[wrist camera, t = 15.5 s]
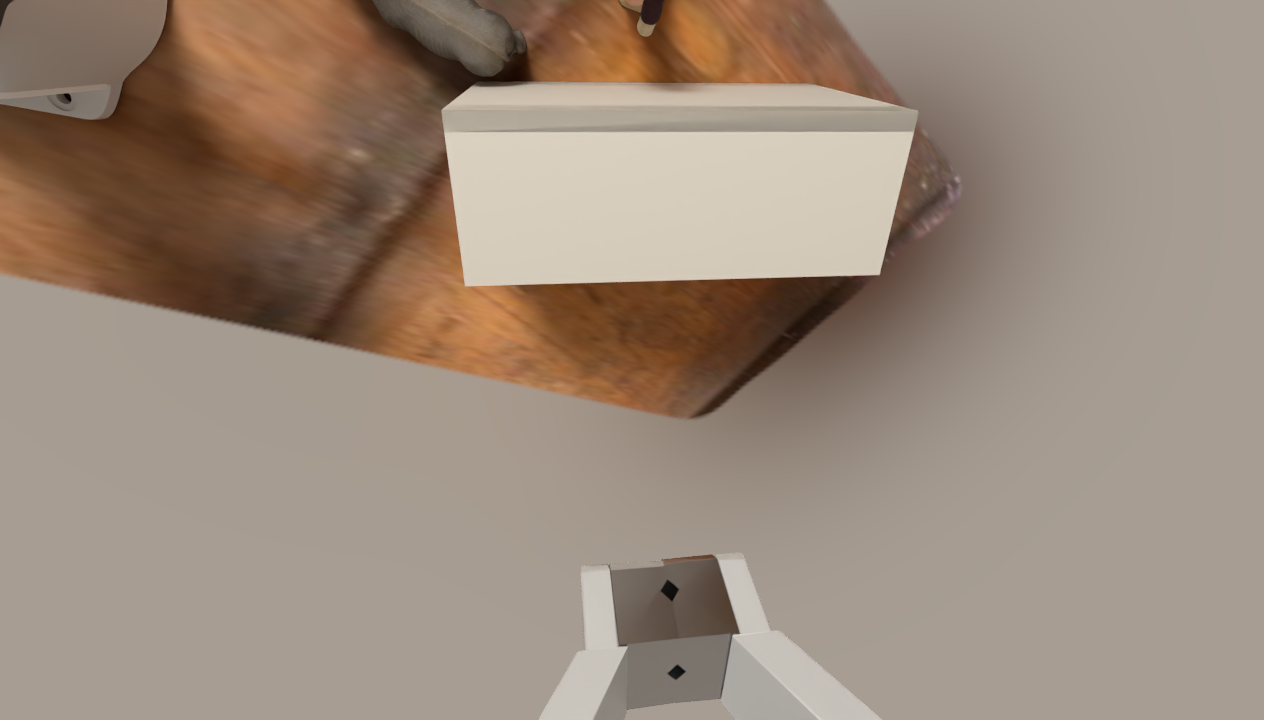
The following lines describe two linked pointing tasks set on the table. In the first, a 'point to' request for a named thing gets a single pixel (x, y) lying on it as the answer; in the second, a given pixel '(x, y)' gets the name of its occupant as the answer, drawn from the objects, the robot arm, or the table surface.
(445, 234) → the table surface
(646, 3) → the grandmother figurine
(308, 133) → the table surface
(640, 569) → the robot arm
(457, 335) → the table surface
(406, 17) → the rhino figurine
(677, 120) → the block
